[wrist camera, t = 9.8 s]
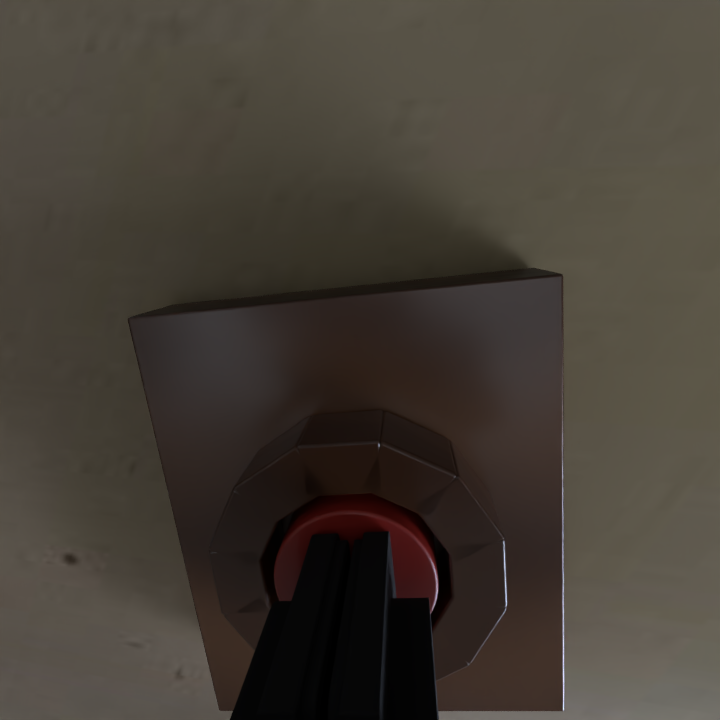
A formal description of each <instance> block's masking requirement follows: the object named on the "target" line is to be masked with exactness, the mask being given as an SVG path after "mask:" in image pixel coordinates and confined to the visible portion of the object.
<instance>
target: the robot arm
mask: <svg viewBox="0 0 720 720" xmlns="http://www.w3.org/2000/svg"><path fill="white" fill-rule="evenodd" d="M230 720H439V717H438V703H437V690H436V676H435V663H434V650H433V638H432V626H431V614H430V603H429V597H427V598H397V596H396V587H395V578H394V568H393V559H392V549H391V540H390V533H389V531H383V532H364V534H363V539H361V540H354V544H353V550H352V557H350V550H349V543H348V541H347V540H340V538H339V535H338V534H337V533H334V534H313V535H312V537H311V539H310V543H309V546H308V549H307V552H306V555H305V559H304V562H303V565H302V568H301V572H300V575H299V578H298V581H297V584H296V588H295V591H294V594H293V597H292V600H291V601H275V602H274V603H273V604H272V606H271V608H270V611H269V613H268V616H267V619H266V622H265V624H264V627H263V630H262V633H261V635H260V638H259V641H258V644H257V647H256V649H255V652H254V655H253V658H252V660H251V663H250V666H249V669H248V671H247V674H246V677H245V680H244V682H243V685H242V688H241V691H240V693H239V696H238V699H237V702H236V705H235V707H234V710H233V713H232V716H231V718H230Z"/></svg>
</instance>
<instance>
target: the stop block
mask: <svg viewBox="0 0 720 720" xmlns="http://www.w3.org/2000/svg"><path fill="white" fill-rule="evenodd" d="M128 323H129V327H130V331H131V335H132V340H133V344H134V348H135V353H136V357H137V361H138V365H139V370H140V374H141V378H142V382H143V387H144V391H145V395H146V400H147V404H148V408H149V412H150V417H151V421H152V425H153V429H154V434H155V438H156V442H157V447H158V451H159V455H160V459H161V464H162V468H163V472H164V476H165V481H166V485H167V489H168V493H169V498H170V502H171V506H172V511H173V515H174V519H175V523H176V528H177V532H178V536H179V540H180V545H181V549H182V553H183V558H184V562H185V566H186V570H187V575H188V579H189V583H190V587H191V592H192V596H193V600H194V605H195V609H196V613H197V617H198V622H199V626H200V630H201V634H202V639H203V643H204V647H205V652H206V656H207V660H208V664H209V669H210V673H211V677H212V681H213V686H214V690H215V694H216V699H217V703H218V707H219V710H220V711H233V710H234V707H235V705H236V702H237V699H238V696H239V693H240V691H241V688H242V685H243V682H244V680H245V677H246V674H247V671H248V669H249V666H250V663H251V660H252V658H253V655H254V652H255V649H256V647H257V644H258V641H259V638H260V635H261V633H262V630H263V627H264V624H265V622H266V619H267V616H268V613H269V611H270V608H271V606H272V604H273V603H274V602H275V601H279V599H278V596H277V593H276V589H275V584H274V565H275V560H276V556H277V554H278V551H279V548H280V546H281V543H282V541H283V538H284V536H285V533H286V531H287V528H288V526H289V523H290V520H291V518H292V515H293V513H294V511H296V510H297V509H299V508H301V507H302V506H304V505H305V504H307V503H309V502H310V501H312V500H313V499H315V498H317V497H318V496H328V495H347V494H367V493H372V494H374V495H377V496H379V497H381V498H384V499H386V500H388V501H390V502H393V503H395V504H397V505H399V506H402V507H404V508H406V509H408V510H411V511H413V512H415V513H418V514H419V516H420V517H421V518H422V519H423V521H424V522H425V523H426V525H427V526H428V527H429V529H430V530H431V531H432V532H433V534H434V542H435V552H436V561H437V571H438V581H439V589H438V596H437V600H436V603H435V606H434V609H433V611H432V613H431V626H432V638H433V650H434V663H435V676H436V690H437V703H438V711H564V402H563V275H562V274H559V273H555V272H550V271H546V270H541V269H537V268H526V269H517V270H507V271H497V272H487V273H478V274H468V275H458V276H448V277H439V278H429V279H419V280H409V281H400V282H390V283H380V284H370V285H361V286H351V287H341V288H331V289H322V290H312V291H302V292H292V293H283V294H273V295H263V296H253V297H244V298H234V299H224V300H214V301H205V302H195V303H185V304H175V305H170V306H166V307H163V308H159V309H156V310H152V311H149V312H145V313H142V314H139V315H135V316H132V317H129V318H128Z"/></svg>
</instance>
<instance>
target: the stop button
mask: <svg viewBox="0 0 720 720" xmlns="http://www.w3.org/2000/svg"><path fill="white" fill-rule="evenodd" d="M383 531H389V533H390V540H391V549H392V559H393V568H394V578H395V587H396V596H397V598H427V597H429V603H430V614H431V613H432V611H433V609H434V606H435V603H436V600H437V596H438V589H439V581H438V571H437V561H436V552H435V542H434V534H433V532H432V531H431V530H430V529H429V527H428V526H427V525H426V523H425V522H424V521H423V519H422V518H421V517H420V516H419V514H418V513H415V512H413V511H411V510H408V509H406V508H404V507H402V506H399V505H397V504H395V503H393V502H390V501H388V500H386V499H384V498H381V497H379V496H377V495H374V494H372V493H367V494H347V495H328V496H318V497H317V498H315V499H313V500H312V501H310V502H309V503H307V504H305V505H304V506H302V507H301V508H299V509H297V510H296V511H294V513H293V515H292V518H291V520H290V523H289V526H288V528H287V531H286V533H285V536H284V538H283V541H282V543H281V546H280V548H279V551H278V554H277V556H276V560H275V565H274V584H275V589H276V593H277V596H278V599H279V601H291V600H292V597H293V594H294V591H295V588H296V584H297V581H298V578H299V575H300V572H301V568H302V565H303V562H304V559H305V555H306V552H307V549H308V546H309V543H310V539H311V537H312V535H313V534H334V533H337V534H338V535H339V538H340V540H347V541H348V543H349V550H350V557H352V550H353V544H354V540H361V539H363V534H364V532H383Z"/></svg>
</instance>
